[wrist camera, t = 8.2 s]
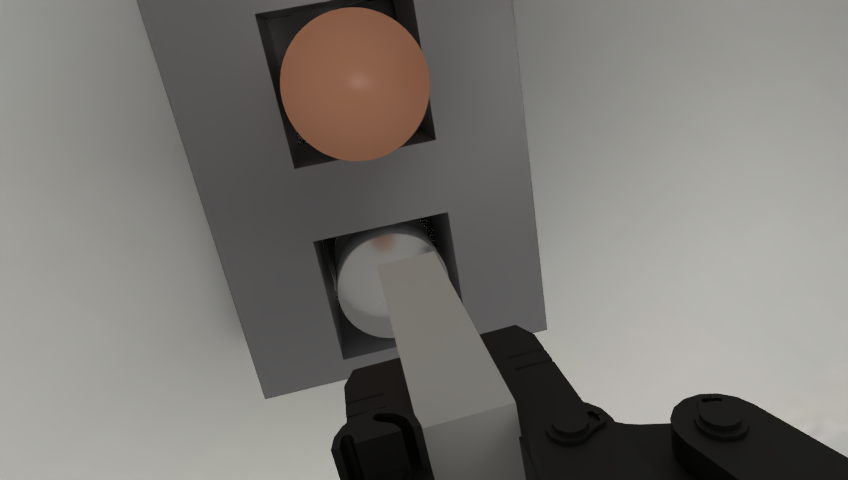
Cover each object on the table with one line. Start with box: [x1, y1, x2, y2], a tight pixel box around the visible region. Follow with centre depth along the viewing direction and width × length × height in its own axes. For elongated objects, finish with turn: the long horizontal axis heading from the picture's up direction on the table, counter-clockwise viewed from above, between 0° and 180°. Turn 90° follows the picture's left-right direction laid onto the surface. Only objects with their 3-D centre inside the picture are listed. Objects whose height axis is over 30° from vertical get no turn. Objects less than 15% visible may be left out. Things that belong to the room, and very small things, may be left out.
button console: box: [137, 0, 547, 399], centre depth 22 cm, size 12×23×5 cm, turn 9°
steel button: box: [334, 219, 449, 338], centre depth 25 cm, size 4×4×4 cm
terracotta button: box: [280, 7, 430, 161], centre depth 19 cm, size 4×4×4 cm
